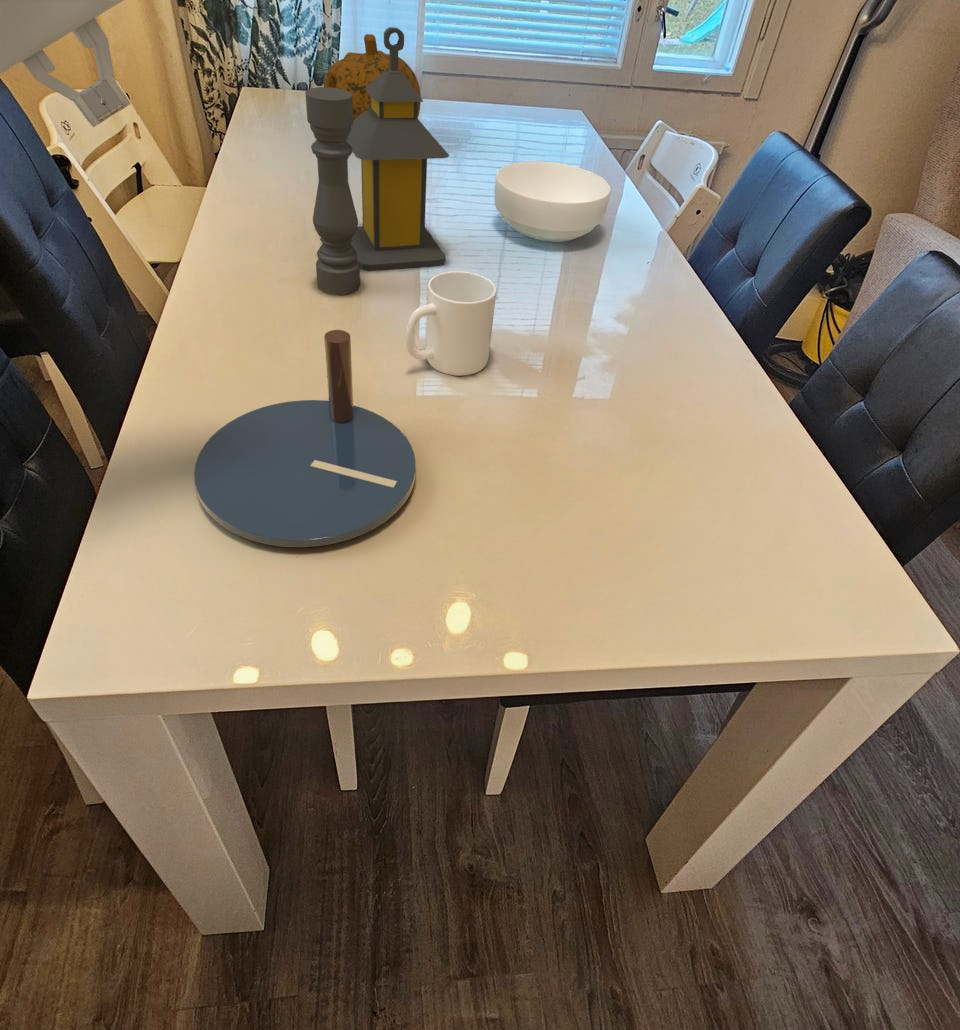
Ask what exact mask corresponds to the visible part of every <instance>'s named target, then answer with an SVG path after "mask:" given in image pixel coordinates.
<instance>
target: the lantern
mask: <svg viewBox="0 0 960 1030" xmlns="http://www.w3.org/2000/svg"><path fill="white" fill-rule="evenodd" d="M393 34H397V37H398V39H397V42H396V43H395V44H391V40H390V38H391V35H393ZM383 45H384V48H385V49H386V50H389V54H390V69H386V70H384V71H383V72H382V73H381V74H380V75H379V76H378V77H377V78H376V79H375V80H374V81H373V82H371V83H370V84H369V85H368V86H367V87H366V88H365V90H366V91H367V92H368V93H369V95H370V96H371V107H370V108H368V109H367V110H366V111H365V112H363V113H362V114H361V115H360V116H358V117H357V118H356V119H355V120H353V124H352V126H351V132H350V133H349V136H348V139H347V143H349V144H350V145H351V147H352V154H354V156H355V157H356V158H357V159H359V160H360V162H361V163H360V165H361V166H360V167H361V203H362V205H361V206H362V207H361V208H362V209H361V210H362V226H358V227H357V230H356V232H355V234H354V236H353V237H352V240H353V241H352V242H351V245H352V246H353V248H354V249H355V250H356V252H357V255H358V256H357V258H356V260H358V262H359V265H360V270H362V271H365V272H366V271H368V272H371V271H385V270H386V271H387V270H397V269H398V270H399V269H412V268H414V269H415V268H425V267H441V266H443V265H445V263H446V254H445V253H444V251H443V250H442V248H441V247H440V246H439V245H438V243H437V242H436V239H434V237H433V236H432V234H431V233H430V231H429V230H428V229H427V228H426V206H427V205H426V202H427V200H426V199H427V175H428V174H427V172H428V160H430V159H448V158H449V156H450V154H449V153H448V152H447V151H446V150H445V148H444V147H443V146H442V145H441V143H439V142H438V140H437V139H436V138H435V137H434V135H433V134H431V132H430V130H428V129H427V128H426V127H425V125H424V124H423V123H422V122H421V121H420V120H419V117H418V118H417V102H421V103H423V102H424V100H423V98H422V97H420V96H419V95H418V93H417V92H416V91H415V89H414V88H413V87H412V85H411V84H410V83H409V81H408V80H407V79H406V77H405V76H404V75H403V73H402V72H401V71H400V70H398V57H399V52H400V51H402V50H403V49H404V47H405V34H404V32H403V31H402V30H401V29H399V28H398V27H393V26H391V27H390V26H389V27H387V28H386V29H385V30H384V32H383Z"/></svg>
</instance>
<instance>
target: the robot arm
mask: <svg viewBox="0 0 960 1030" xmlns="http://www.w3.org/2000/svg"><path fill="white" fill-rule="evenodd" d="M124 1H125V0H0V75H3V74H4V73H6V72H7V71H9V70H10V69H12V68H13V67H16V66H17V65H19V64H21V63H22V64H23V65H24V67H25V68H26V69H27V70H28V71H29V73H30V74H31V76H32V77H33V78H34V79H35V81H36V82H39V83H40V84H42V85H44V86H45V87H48V88H49V89H50V90H52V91H54V92H56V93H58V94H60V95H61V96H62V97H64V98H66V99H68V100H70V101H72V102H73V103H74V105H75V106H76V107H77V108H78V110H79V111H80V112H81V114H82V115H83V116H84V118H85V119H86V120H87V122H88V123H89V124H90V126H92V127H93V128H95V127H97V126H99V125H100V124H102V123H103V122H104V121H106V120H108V119H109V118H110V117H113V115H115V114H117V113H119V112H120V111H122V110H124V109H125V108H127V107H128V106H130V105H131V102H130V100H129V99H128V97H127V96H126V94H125V93H124V91H123V90H122V88H121V87H120V85H119V84H118V82H117V81H116V79H115V78H114V75H115V74H114V68H113V63H112V62H113V61H112V57H111V56H112V55H111V49H110V43H109V39H108V37H107V35H106V34H105V32H104V31H103V29H102V28H101V27H100V25H99V23H98V21H97V20H96V18H97V17H99V16H100V15H102V14H104V13H105V12H107V11H108V10H110V9H112V8H114V7H115V6H117V5H119V4H120V3H122V2H124ZM71 33H73V34H74V36H75V37H76V39H77V40H78V42H79V43H80V44H81V46H82V47H83V48H86V49H93V53H94V60H95V65H96V69H97V75H98V79H99V80H97V81H95V82H94V83H92V84H90V85H89V86H88V87H85V88H84V89H82V90H80V91H78V90H76V89H74V88H73V87H71V86H69V85H67V84H66V83H64V82H62V80H59V79H57V78H56V77H54V76H52V75H51V73H53V72H55V71H56V66H55V65H54V63H53V61H51V59H50V58H49V56H48V55H47V53H46V52H45V51H44V49H46V48H48V47H49V46H51V45H52V44H53V43H56V42H57V41H59V40H60V39H62V38H64V37H66V36H67V35H69V34H71Z"/></svg>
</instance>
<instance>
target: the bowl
mask: <svg viewBox="0 0 960 1030" xmlns="http://www.w3.org/2000/svg"><path fill="white" fill-rule="evenodd" d="M494 181H495V182H494V183H495V184H494V197H493V198H494V201H493V204H494V207H495V209H496V210H497V211H498V212H499V214H500V216H501V218H502V220H503V221H504V222H505V223H506V224H507V225H508V226H509V227H511V229H513V230H515V232H517V233H518V234H521V235H522V236H525V237H527V238H530V239H534V240H538V241H543V242H552V243H553V242H554V243H560V242H561V243H562V242H568V241H569V242H570V241H572V240H575V239H578V238H580V237H582V236H585V235H586V234H589V233H590V232H592V231H593V230H594V228H595V227H596V226H598V225H600V224H601V223H602V222H603V220H604V218H605V215H606V212H607V208H608V206H609V205H608V204H609V200H610V196H611V192H612V191H611V186H610V184H609V182H608V181H607V180H605V179H604V178H603V177H602V176H600V175H598V174H597V173H595V172H592V171H590V170H587V169H584V168H581V167H578V166H575V165H571V164H566V163H562V162H555V161H541V160H527V161H518V162H514V163H513V162H512V163H510V164H506V165H503V166H502V167H500V168H499V169H498V170H497V172H496V174H495V180H494Z"/></svg>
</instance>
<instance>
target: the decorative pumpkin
mask: <svg viewBox="0 0 960 1030" xmlns="http://www.w3.org/2000/svg"><path fill="white" fill-rule="evenodd" d="M363 41H364V50H365V53H359V52H353V51H352V52H351V51H349V52H347V53H346V54H345V55H344V57H343V58H342V59H339V60H337V61H335V62H334V63H333V64H332V65H331V66H330V67H329V68H328V71H327V72H326V74H325V76H324V82H323V87H331V88H338V89H343V90H346V91H348V92H350V93H351V94H352V96H353V120H355V119H356V118H357V117H358V116H360V115H361V114H362V113H363V112H365V111H366V110H367V109H368V108H370V107H371V96H370V95H369V93H368V92H367V91H366V90H365V88H366V87H367V86H368V85H369V84H370V83H371V82H373V81H374V80H375V79H376V78H377V77H378V76H379V75H380V74H381V73H382V72H383V71H384V70H386V69H390V53H385V52H383V51H382V50H378V44H377V39H376V36H375V35H374V34H373V33H366V34H365V35H364V36H363ZM398 70H400V71H401V72H402V73H403V75H404V76H405V77H406V79H407V80H408V81H409V83H410V84H411V85H412V87H413V88H414V89H415V91H416V92H417V93H418V95H419V96H420V97H421V88H420V83H419V80H418V78H417V76H416V74H415V72H414V71H413V70H412V67H411V66H409V64H408V63H407V62H406V61H405V60H404V59H402V58H401V57H399V56H398ZM421 98H422V97H421ZM421 103H422V102H417V118H418V119H419V117H420V112H421V111H420V110H421Z"/></svg>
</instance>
